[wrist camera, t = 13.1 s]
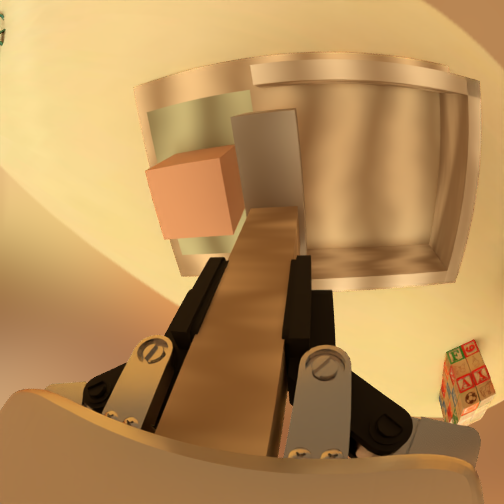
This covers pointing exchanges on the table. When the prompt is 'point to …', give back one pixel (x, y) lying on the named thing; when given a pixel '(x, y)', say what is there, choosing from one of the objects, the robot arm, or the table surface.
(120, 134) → the table surface
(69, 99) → the table surface
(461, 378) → the stack of blocks
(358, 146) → the cubby
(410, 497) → the robot arm
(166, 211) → the block
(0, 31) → the sunglasses
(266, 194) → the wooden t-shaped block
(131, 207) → the table surface
